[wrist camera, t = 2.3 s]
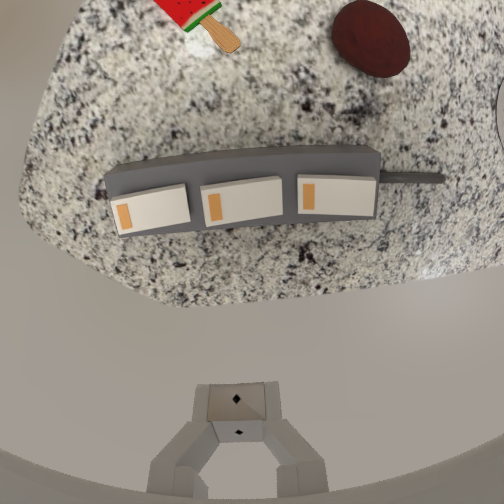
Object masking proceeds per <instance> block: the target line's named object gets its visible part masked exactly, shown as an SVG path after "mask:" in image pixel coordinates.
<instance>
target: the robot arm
mask: <svg viewBox="0 0 504 504" xmlns="http://www.w3.org/2000/svg"><path fill="white" fill-rule="evenodd" d="M497 125H498V131H499V136H500V139H501V142H502V145H503V147H504V80H503V82H502V84H501V87H500V90H499V94H498V100H497ZM263 441H264V443H265V444H266V446H267V447H268V448H269V450H270V451H271V452H272V454H273V455H274V456H275V458H276V459H277V460H278V461H279V463H280V464H281V465H280V466H279V467H278V468H277V498H267V499H208V487H207V485H206V484H205V483H204V481H203V480H202V479H201V477H200V476H199V475H198V474H199V472H200V471H201V469H202V468H203V467H204V465H205V464H206V463H207V461H208V460H209V458H210V457H211V456H212V454H213V453H214V451H215V450H216V448H217V447H218V446H219V443H224V442H225V443H228V442H263ZM0 504H504V434H502V435H500V436H498V437H497V438H494V439H492V440H490V441H488V442H486V443H484V444H482V445H480V446H478V447H476V448H473V449H471V450H469V451H467V452H464V453H462V454H460V455H457V456H455V457H453V458H450V459H448V460H445V461H442V462H440V463H437V464H434V465H432V466H429V467H426V468H423V469H420V470H417V471H414V472H411V473H408V474H405V475H401V476H398V477H395V478H391V479H387V480H383V481H379V482H375V483H372V484H367V485H363V486H358V487H353V488H349V489H343V490H337V491H332V492H329V488H328V481H327V475H326V468H325V462H324V459H323V458H322V457H321V456H320V455H319V454H318V453H317V452H316V451H315V450H314V449H313V448H312V447H311V445H310V444H309V443H308V442H307V441H306V440H305V439H304V438H303V437H302V436H301V435H300V434H299V433H298V432H297V430H296V429H295V428H294V427H293V426H292V425H291V424H290V423H289V422H288V420H287V419H282V413H281V402H280V392H279V383H278V381H274V382H257V383H241V384H198V385H197V386H196V390H195V398H194V407H193V415H192V421H190V422H187V423H186V424H185V425H184V427H183V428H182V429H181V430H180V431H179V432H178V433H177V434H176V435H175V436H174V438H173V439H172V440H171V441H170V442H169V443H168V444H167V445H166V446H165V447H164V449H163V450H162V451H161V452H160V453H159V454H158V455H157V456H156V457H155V458H154V459H153V460H152V461H151V465H150V471H149V478H148V485H147V491H146V493H145V492H139V491H134V490H128V489H122V488H118V487H113V486H109V485H104V484H100V483H96V482H92V481H88V480H85V479H81V478H77V477H74V476H71V475H67V474H64V473H61V472H58V471H55V470H52V469H49V468H46V467H43V466H41V465H38V464H35V463H33V462H30V461H28V460H25V459H23V458H20V457H18V456H16V455H13V454H11V453H9V452H7V451H4V450H2V449H0Z"/></svg>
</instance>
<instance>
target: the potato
mask: <svg viewBox="0 0 504 504" xmlns="http://www.w3.org/2000/svg"><path fill="white" fill-rule="evenodd" d="M332 38H333V44H334V46H335V47H336V49H337V50H338V52H339V54H340V55H341V56H342V57H343V58H344V59H345V60H346V61H348V62H349V63H350V64H351V65H352V66H353V67H355V68H357V69H359V70H361V71H362V72H364V73H366V74H368V75H370V76H373V77H381V78H388V77H392V76H395V75H398V74H399V73H400V72H401V71H402V70H403V69H404V68H405V67H407V65H408V62H409V60H410V51H411V50H410V45H409V41H408V38H407V35H406V33H405V31H404V29H403V27H402V25H401V24H400V22H399V21H398V20H397V18H396V17H395V16H394V15H393V14H392V13H391V12H390V11H389V10H387V9H386V8H384V7H382V6H380V5H378V4H376V3H374V2H371V1H368V0H356V1H354V2H352V3H349V4H347V5H346V6H344V7H343V8H342V10H341V11H340V12H339V14H338V15H337V16H336V17H335V21H334V25H333V29H332Z"/></svg>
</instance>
